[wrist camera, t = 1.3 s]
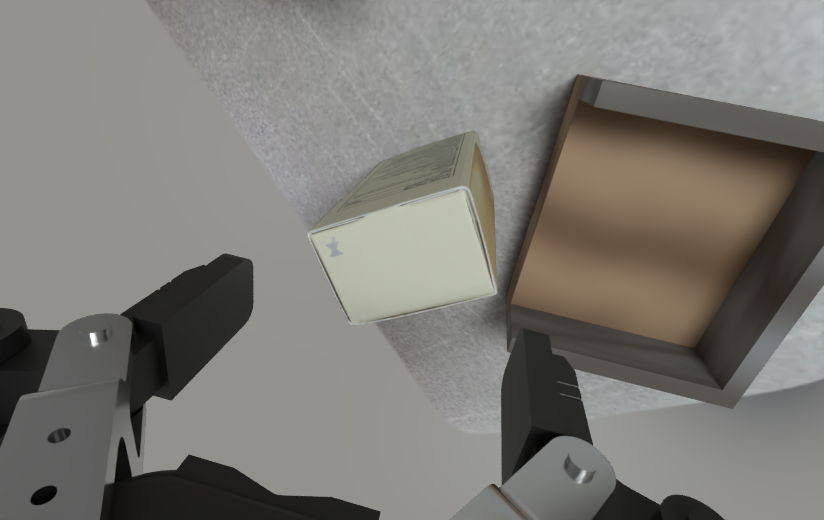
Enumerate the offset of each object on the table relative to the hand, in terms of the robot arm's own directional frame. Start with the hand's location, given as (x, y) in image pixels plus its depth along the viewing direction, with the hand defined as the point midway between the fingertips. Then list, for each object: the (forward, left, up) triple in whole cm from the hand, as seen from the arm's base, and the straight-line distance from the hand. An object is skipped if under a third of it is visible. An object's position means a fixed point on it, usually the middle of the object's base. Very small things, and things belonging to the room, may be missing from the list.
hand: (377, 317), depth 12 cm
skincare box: (0, 0, -16) cm, 16 cm away
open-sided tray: (0, +12, -15) cm, 19 cm away
